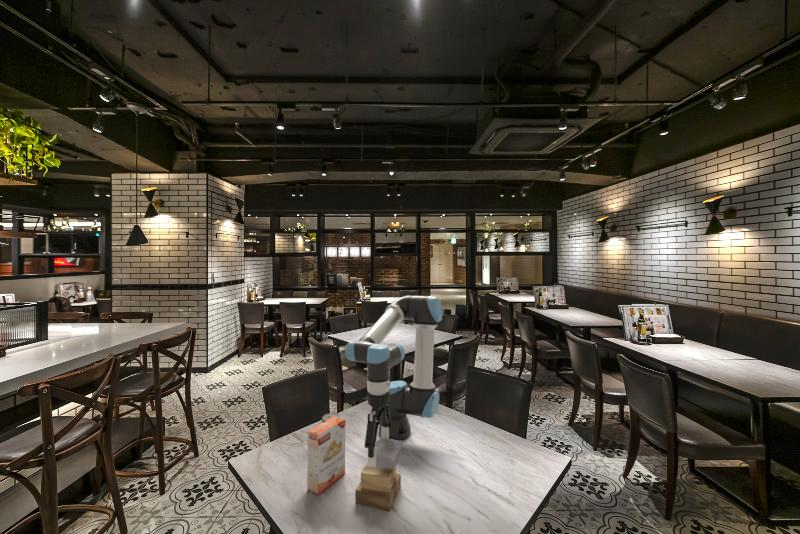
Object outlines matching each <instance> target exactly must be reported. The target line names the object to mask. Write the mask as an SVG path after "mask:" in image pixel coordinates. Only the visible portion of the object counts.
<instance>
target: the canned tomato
mask: <svg viewBox="0 0 800 534" xmlns="http://www.w3.org/2000/svg"><path fill="white" fill-rule="evenodd" d="M334 416H336V417H338V418H341V415H340V413H336V412H329V413H328V412H327V413H326V414H323V416H322V417H321V418H322V423H323V422H325V421H327V420H329V419H330V418H332V417H334Z"/></svg>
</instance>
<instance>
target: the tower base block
mask: <svg viewBox="0 0 800 534" xmlns="http://www.w3.org/2000/svg"><path fill="white" fill-rule="evenodd" d="M401 479H402V478H401V473H397V472H396V479H395V481H394V484H393V486H392V488H391V490H390V493H387V492H382V491H376V490H371V489H365V488H361V481H359V484H358V485H357V487H356V489H354V490H355V493H354V495H355V498H354V500H355V505H359V506H362V507H363V506H364V507H368V508H372V509H377V510H382V511H385V512H388V513H389V512H391V511H392V508H393V505H394V503H395V501H396V498H397V497H398V493H399V492H400V489H401V487H402V485H401V482H402V481H401Z"/></svg>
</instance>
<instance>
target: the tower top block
mask: <svg viewBox="0 0 800 534" xmlns="http://www.w3.org/2000/svg"><path fill="white" fill-rule="evenodd" d="M396 473H397V466H396V467H395V468H378V467H372V466H368V461H367V462H366V463H365V465H364V466H363V468H362V470H361V472H360V482H361V488H365V489H371V490H376V491H382V492H387V493H390V490H391V488H392V486H393V484H394V481H395V479H396Z"/></svg>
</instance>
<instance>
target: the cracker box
mask: <svg viewBox="0 0 800 534" xmlns="http://www.w3.org/2000/svg"><path fill="white" fill-rule="evenodd" d="M345 474H346V419H345V418H341V417H340V418H338V417H336V416H334V417H332V418H330V419H329V420H327V421H325V422H322V423H320V424H318V425H316V426H314V427H313V428H311V429H309V430H307V481H306V482H307V490H309V491H310V492H312V493H314V494H316V495H320V494H321V493H322V492H324V491H325V490H326V489H328V487H330V486H331V485H332V484H334V483H335V482H336V481H338V479H340V478H341V477H342V476H344V475H345Z"/></svg>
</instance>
